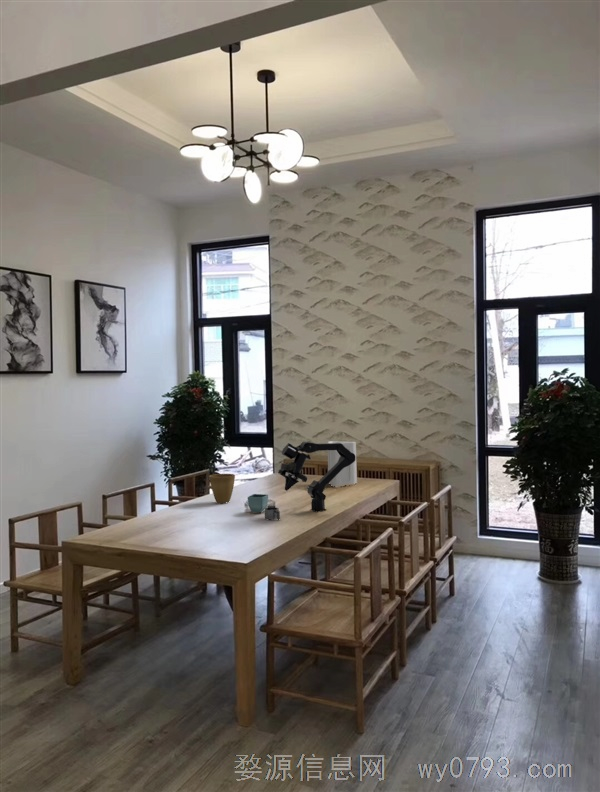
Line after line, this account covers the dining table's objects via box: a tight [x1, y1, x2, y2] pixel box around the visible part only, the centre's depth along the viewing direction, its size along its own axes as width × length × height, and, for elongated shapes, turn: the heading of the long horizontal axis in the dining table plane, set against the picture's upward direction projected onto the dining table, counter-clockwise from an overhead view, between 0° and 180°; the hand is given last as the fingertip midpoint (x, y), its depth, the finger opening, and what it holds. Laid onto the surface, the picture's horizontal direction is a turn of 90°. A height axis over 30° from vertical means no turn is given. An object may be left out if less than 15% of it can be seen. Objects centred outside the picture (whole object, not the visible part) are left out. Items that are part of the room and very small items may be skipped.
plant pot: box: [209, 473, 236, 504], centre depth 370 cm, size 15×15×16 cm
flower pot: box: [247, 493, 269, 513], centre depth 339 cm, size 9×9×9 cm
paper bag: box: [326, 440, 358, 486], centre depth 416 cm, size 19×15×28 cm
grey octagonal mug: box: [264, 507, 281, 521], centre depth 322 cm, size 7×10×5 cm
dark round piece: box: [267, 504, 277, 510], centre depth 323 cm, size 5×5×6 cm
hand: (285, 490), depth 330 cm, fingers closed
